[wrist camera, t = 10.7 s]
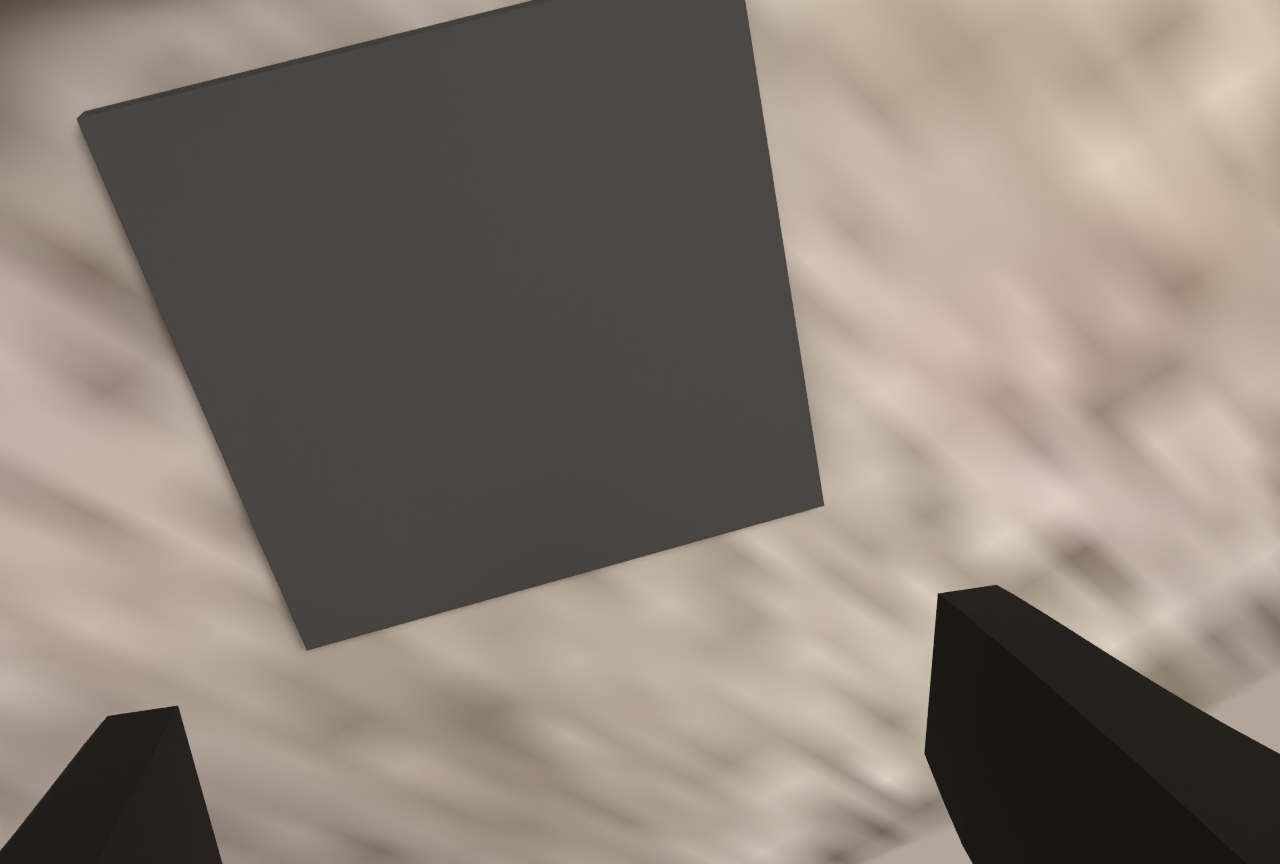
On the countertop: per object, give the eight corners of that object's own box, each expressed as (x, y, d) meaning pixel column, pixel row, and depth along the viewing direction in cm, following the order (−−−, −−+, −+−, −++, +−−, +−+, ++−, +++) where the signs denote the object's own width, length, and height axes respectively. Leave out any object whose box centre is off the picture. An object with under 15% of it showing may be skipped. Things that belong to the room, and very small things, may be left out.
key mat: (309, 634, 23) (306, 650, 22) (84, 111, 18) (77, 118, 18) (816, 492, 23) (824, 505, 23) (729, -48, 19) (737, -45, 18)
